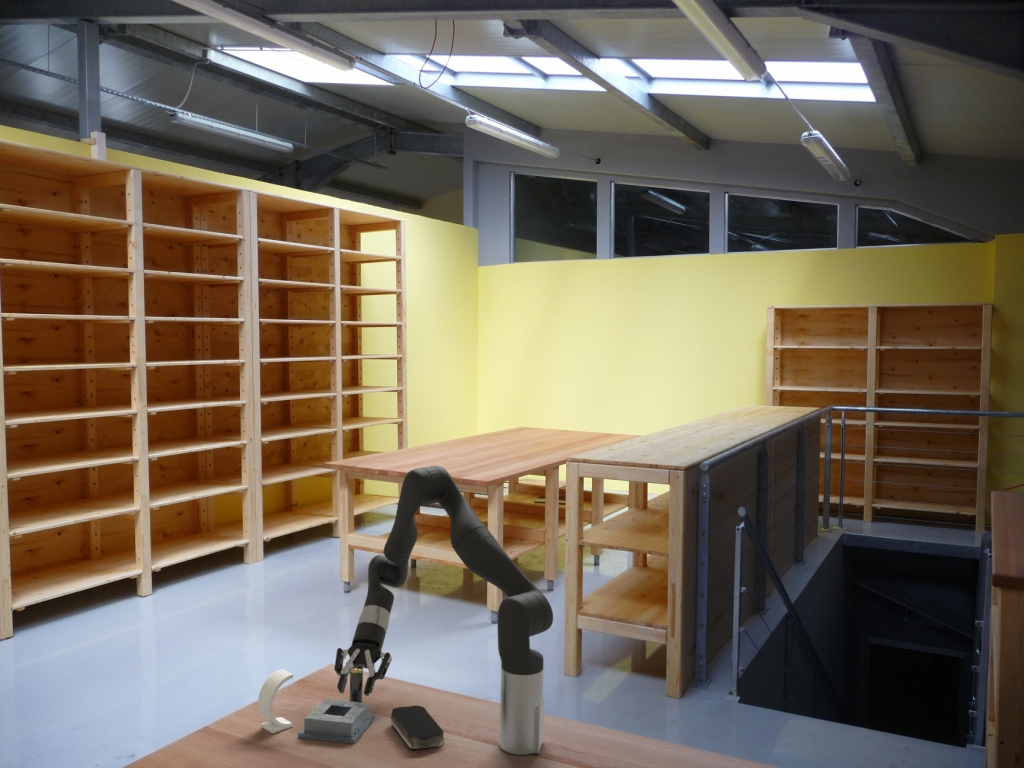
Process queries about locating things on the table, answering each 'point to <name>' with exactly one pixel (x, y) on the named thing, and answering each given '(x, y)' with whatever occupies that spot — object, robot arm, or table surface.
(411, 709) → the black sponge
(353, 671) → the brass pin
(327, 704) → the square hole socket
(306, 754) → the table surface
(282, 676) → the headphone stand
